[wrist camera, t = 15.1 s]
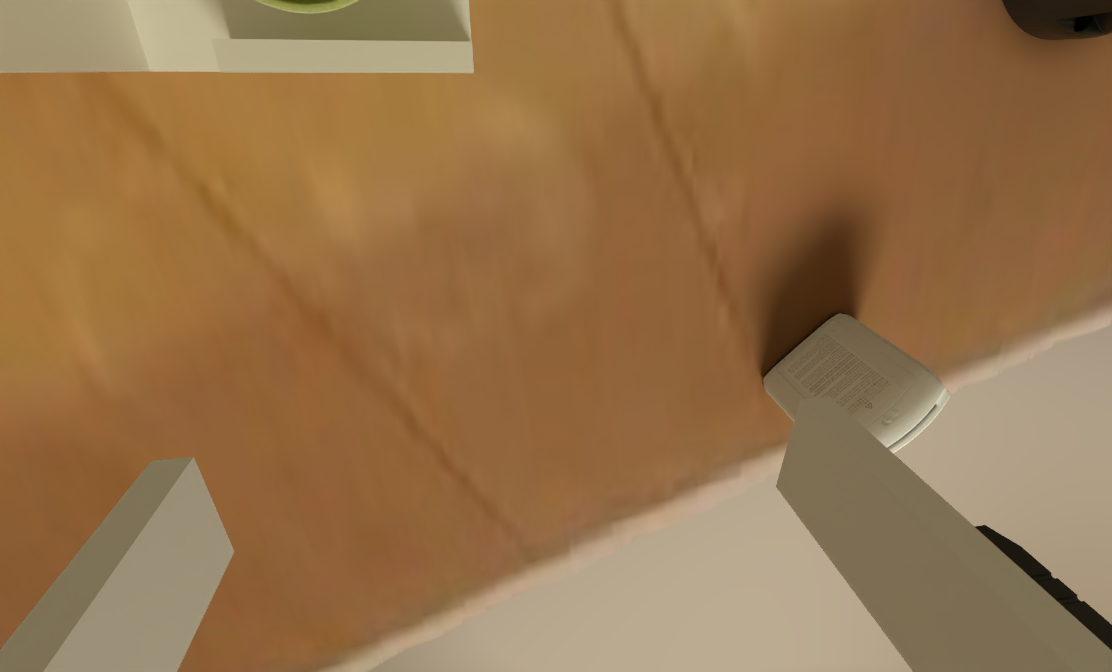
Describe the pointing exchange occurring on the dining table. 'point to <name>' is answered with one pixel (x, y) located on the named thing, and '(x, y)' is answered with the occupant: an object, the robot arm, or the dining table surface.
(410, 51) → the bracket shelf
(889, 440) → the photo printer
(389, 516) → the dining table surface
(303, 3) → the plant pot
